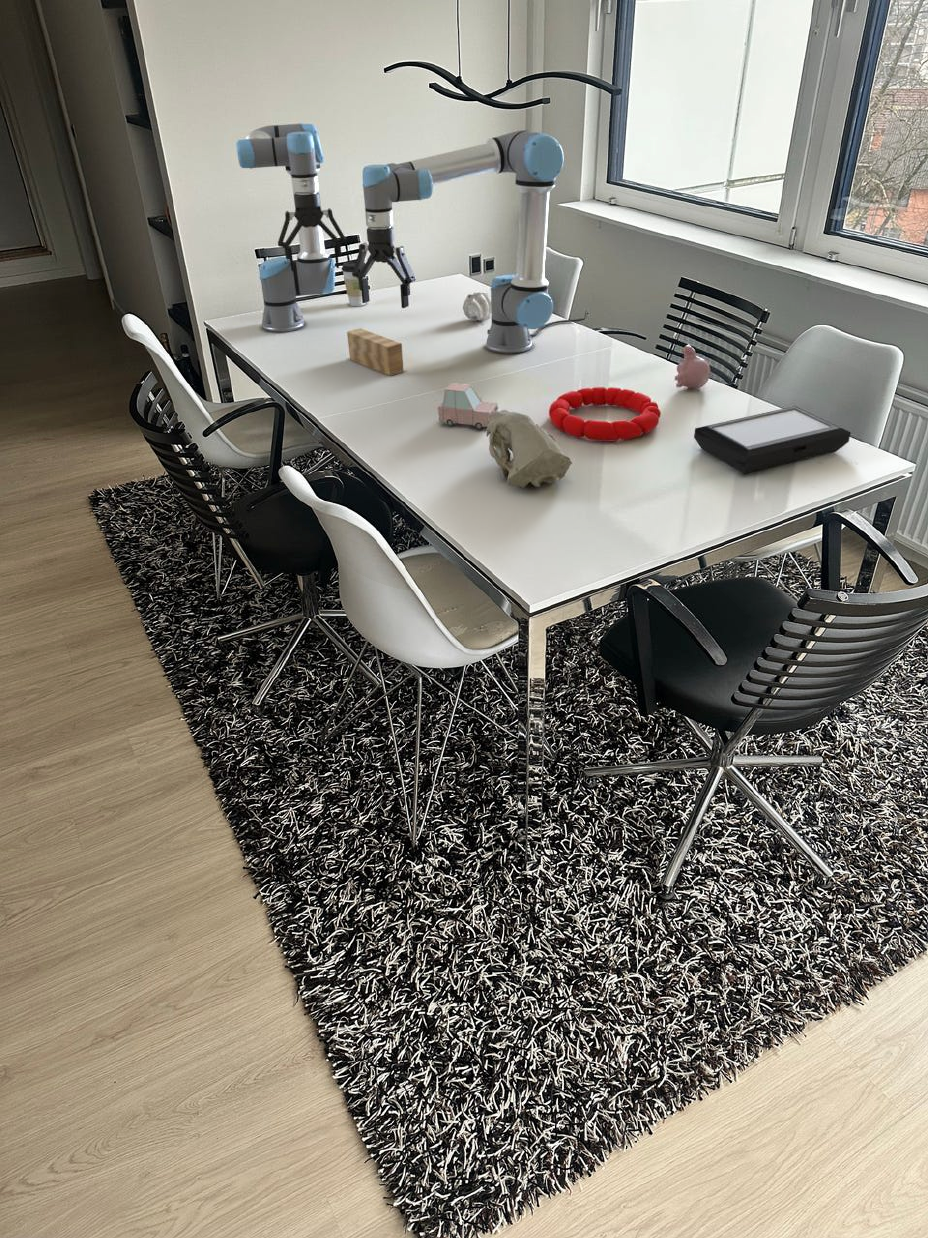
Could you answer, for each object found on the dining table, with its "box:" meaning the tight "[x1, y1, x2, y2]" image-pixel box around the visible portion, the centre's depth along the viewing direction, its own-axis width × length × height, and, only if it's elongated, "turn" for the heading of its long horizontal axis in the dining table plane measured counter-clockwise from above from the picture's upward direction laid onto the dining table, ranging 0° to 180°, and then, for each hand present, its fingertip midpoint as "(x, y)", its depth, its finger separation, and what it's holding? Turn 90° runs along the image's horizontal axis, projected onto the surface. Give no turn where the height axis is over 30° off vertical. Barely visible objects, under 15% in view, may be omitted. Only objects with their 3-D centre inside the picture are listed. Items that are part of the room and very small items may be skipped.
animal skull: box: [485, 409, 573, 489], centre depth 216 cm, size 17×25×20 cm
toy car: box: [437, 382, 499, 431], centre depth 243 cm, size 9×15×10 cm, turn 70°
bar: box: [346, 328, 405, 377], centre depth 286 cm, size 23×5×9 cm, turn 40°
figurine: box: [674, 344, 711, 390], centre depth 259 cm, size 9×11×12 cm
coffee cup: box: [341, 260, 367, 307], centre depth 344 cm, size 10×10×15 cm
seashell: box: [462, 292, 492, 322], centre depth 323 cm, size 10×15×10 cm
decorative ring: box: [548, 386, 661, 442], centre depth 242 cm, size 7×30×30 cm
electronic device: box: [693, 405, 852, 475], centre depth 223 cm, size 32×6×20 cm
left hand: (315, 268), depth 272 cm, fingers open, 13 cm apart
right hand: (385, 304), depth 261 cm, fingers open, 13 cm apart
